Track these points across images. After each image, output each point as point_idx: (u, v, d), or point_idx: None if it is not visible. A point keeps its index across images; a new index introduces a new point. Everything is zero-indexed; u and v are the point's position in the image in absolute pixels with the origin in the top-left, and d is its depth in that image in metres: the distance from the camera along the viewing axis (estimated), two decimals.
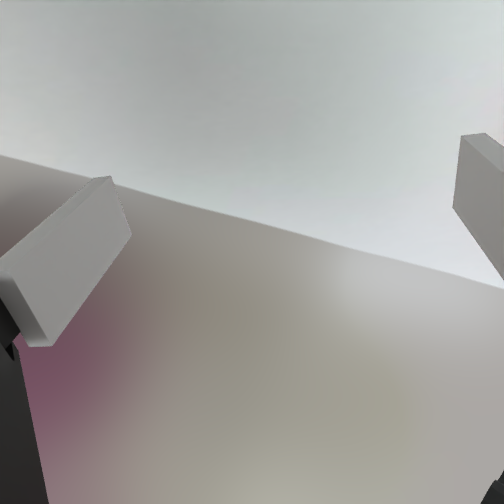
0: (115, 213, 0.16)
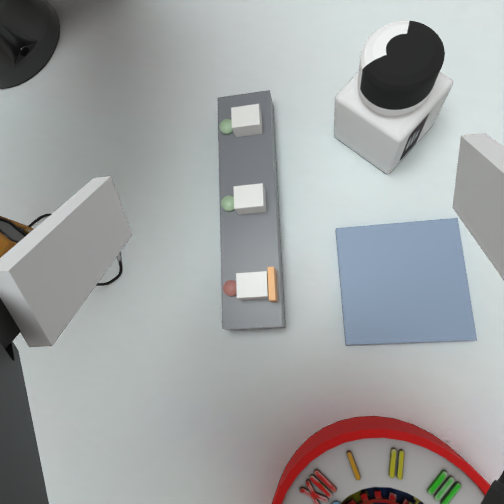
0: (115, 213, 0.16)
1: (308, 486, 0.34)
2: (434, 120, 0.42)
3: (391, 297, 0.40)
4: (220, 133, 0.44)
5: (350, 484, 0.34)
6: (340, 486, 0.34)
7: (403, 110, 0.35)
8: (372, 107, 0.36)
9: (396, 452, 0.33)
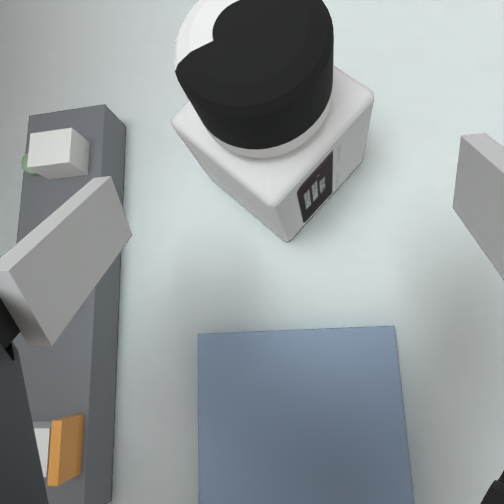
0: (115, 213, 0.16)
1: None
2: (360, 156, 0.25)
3: (278, 464, 0.23)
4: (26, 173, 0.28)
5: None
6: None
7: (271, 150, 0.18)
8: (219, 142, 0.19)
9: None
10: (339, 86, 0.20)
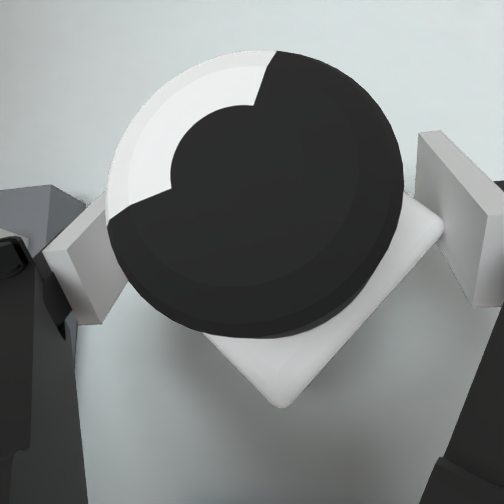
0: None
1: None
2: None
3: None
4: None
5: None
6: None
7: None
8: None
9: None
10: None
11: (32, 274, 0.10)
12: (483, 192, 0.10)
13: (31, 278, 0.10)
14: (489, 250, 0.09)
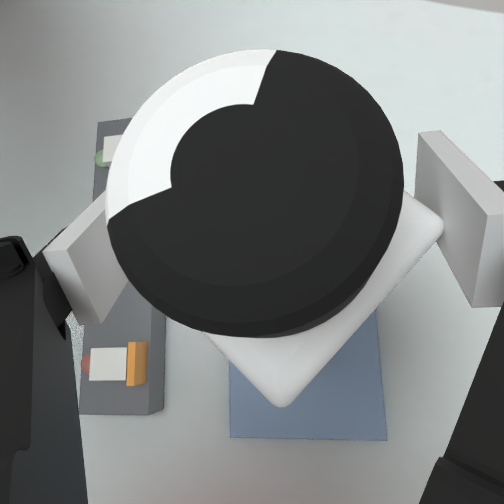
0: None
1: None
2: None
3: None
4: (97, 166, 0.37)
5: None
6: None
7: (280, 337, 0.11)
8: None
9: None
10: None
11: (32, 274, 0.10)
12: (483, 192, 0.10)
13: (31, 278, 0.10)
14: (489, 250, 0.09)
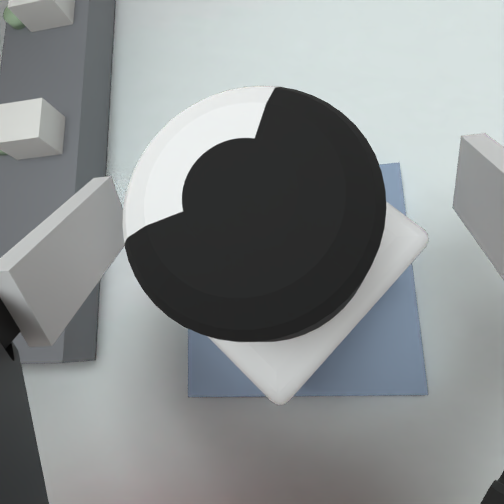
0: (115, 213, 0.16)
1: None
2: None
3: None
4: (8, 27, 0.26)
5: None
6: None
7: (278, 341, 0.12)
8: None
9: None
10: None
11: None
12: None
13: None
14: None
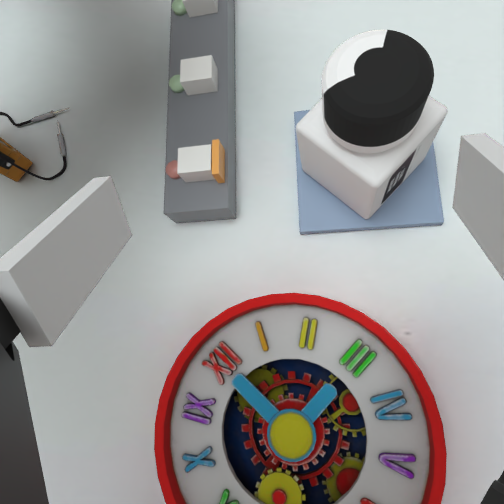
0: (115, 213, 0.16)
1: (211, 358, 0.31)
2: (425, 154, 0.33)
3: None
4: (173, 14, 0.41)
5: (257, 356, 0.30)
6: (246, 358, 0.30)
7: (380, 147, 0.26)
8: (340, 142, 0.27)
9: (308, 321, 0.30)
10: None
11: None
12: None
13: None
14: None
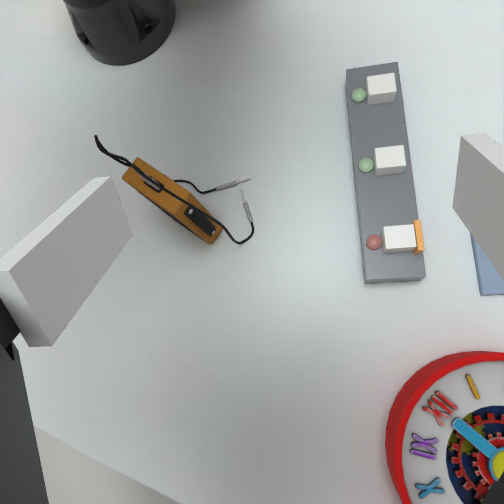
0: (115, 213, 0.16)
1: (431, 405, 0.38)
2: None
3: None
4: (351, 101, 0.48)
5: (470, 403, 0.37)
6: (460, 405, 0.37)
7: None
8: None
9: None
10: None
11: None
12: None
13: None
14: None
